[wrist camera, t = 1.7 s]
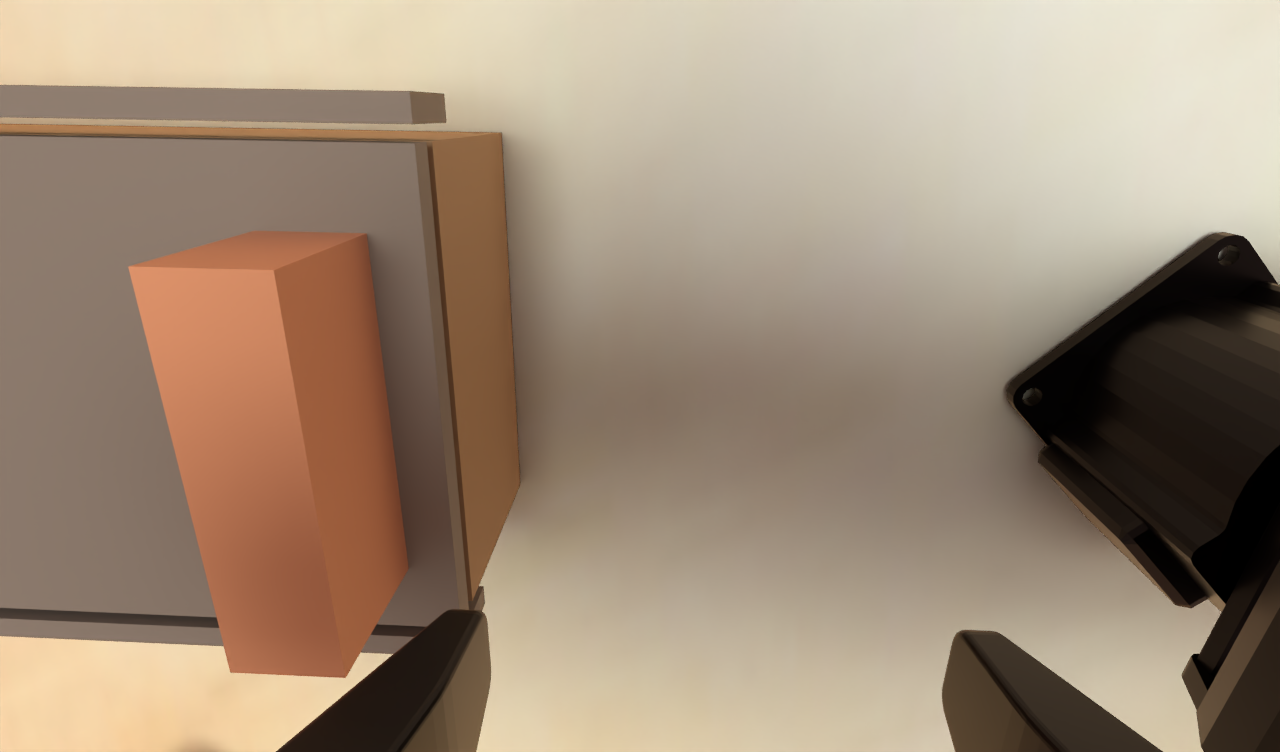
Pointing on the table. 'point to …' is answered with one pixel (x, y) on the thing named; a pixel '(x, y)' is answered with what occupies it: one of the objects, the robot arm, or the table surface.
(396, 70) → the table surface
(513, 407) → the base
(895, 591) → the table surface
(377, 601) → the lid
